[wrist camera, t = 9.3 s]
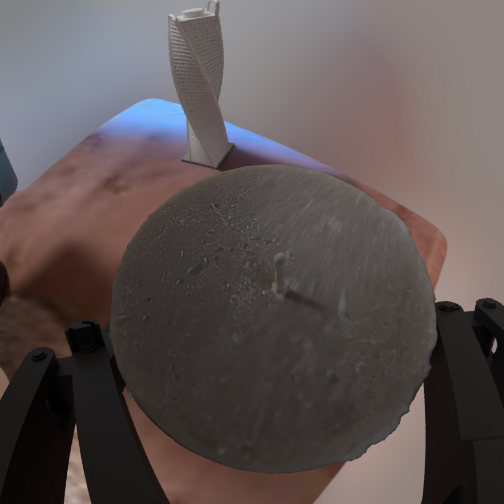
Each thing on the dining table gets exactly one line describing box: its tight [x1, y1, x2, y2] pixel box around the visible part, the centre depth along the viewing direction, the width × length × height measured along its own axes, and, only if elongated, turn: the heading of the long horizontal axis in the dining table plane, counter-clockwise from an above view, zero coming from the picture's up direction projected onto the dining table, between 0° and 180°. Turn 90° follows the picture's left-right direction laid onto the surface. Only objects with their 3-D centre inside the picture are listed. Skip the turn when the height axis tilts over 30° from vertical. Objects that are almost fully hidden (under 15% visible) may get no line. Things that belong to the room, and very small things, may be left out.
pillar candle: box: [109, 164, 438, 474], centre depth 13 cm, size 10×10×15 cm
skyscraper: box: [168, 0, 234, 169], centre depth 37 cm, size 8×8×28 cm
